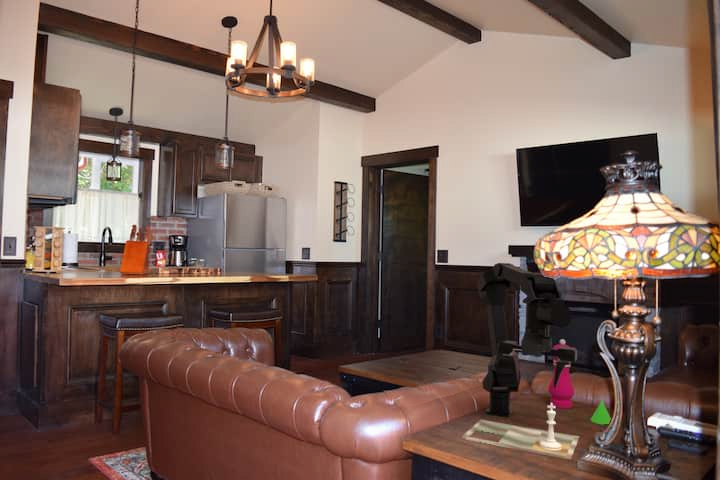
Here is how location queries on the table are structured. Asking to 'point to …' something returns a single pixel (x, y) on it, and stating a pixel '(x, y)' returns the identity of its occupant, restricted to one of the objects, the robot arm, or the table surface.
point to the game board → (524, 438)
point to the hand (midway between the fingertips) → (535, 385)
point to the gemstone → (601, 415)
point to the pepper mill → (561, 385)
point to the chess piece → (550, 432)
